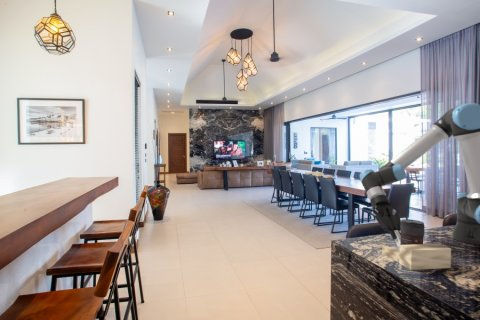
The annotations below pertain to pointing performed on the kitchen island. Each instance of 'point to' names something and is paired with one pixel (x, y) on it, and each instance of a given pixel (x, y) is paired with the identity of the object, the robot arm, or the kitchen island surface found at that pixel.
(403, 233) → the camera lens
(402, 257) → the cradle
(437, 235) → the kitchen island surface
